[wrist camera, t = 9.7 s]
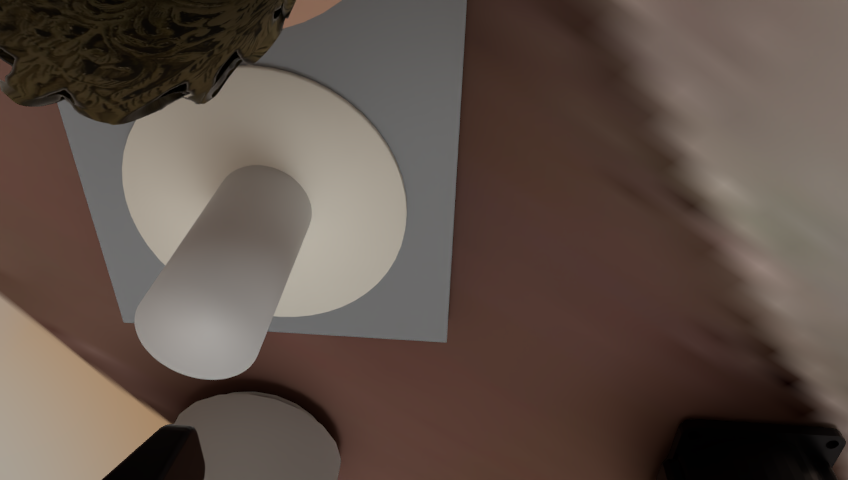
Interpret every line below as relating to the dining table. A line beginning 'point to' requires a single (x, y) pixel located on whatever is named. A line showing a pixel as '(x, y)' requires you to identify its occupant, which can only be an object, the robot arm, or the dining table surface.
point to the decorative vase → (130, 51)
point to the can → (261, 439)
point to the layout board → (399, 100)
